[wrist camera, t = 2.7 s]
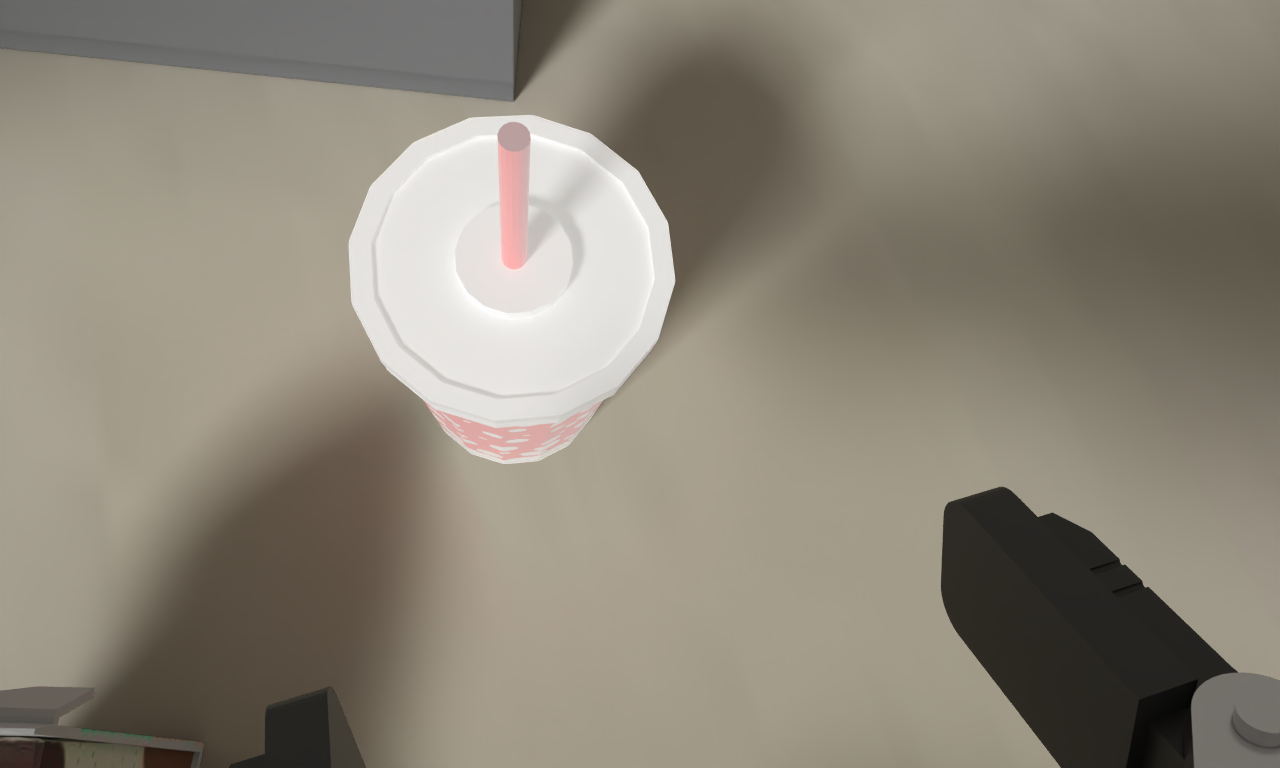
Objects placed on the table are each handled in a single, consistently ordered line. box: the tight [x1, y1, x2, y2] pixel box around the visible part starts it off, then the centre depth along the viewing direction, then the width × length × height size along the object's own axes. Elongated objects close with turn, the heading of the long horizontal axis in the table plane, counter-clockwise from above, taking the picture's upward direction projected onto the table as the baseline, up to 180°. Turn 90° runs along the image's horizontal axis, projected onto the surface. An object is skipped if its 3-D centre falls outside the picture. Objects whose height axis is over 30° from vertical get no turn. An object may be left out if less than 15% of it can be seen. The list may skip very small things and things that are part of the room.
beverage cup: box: [349, 115, 675, 464], centre depth 22 cm, size 6×6×14 cm
